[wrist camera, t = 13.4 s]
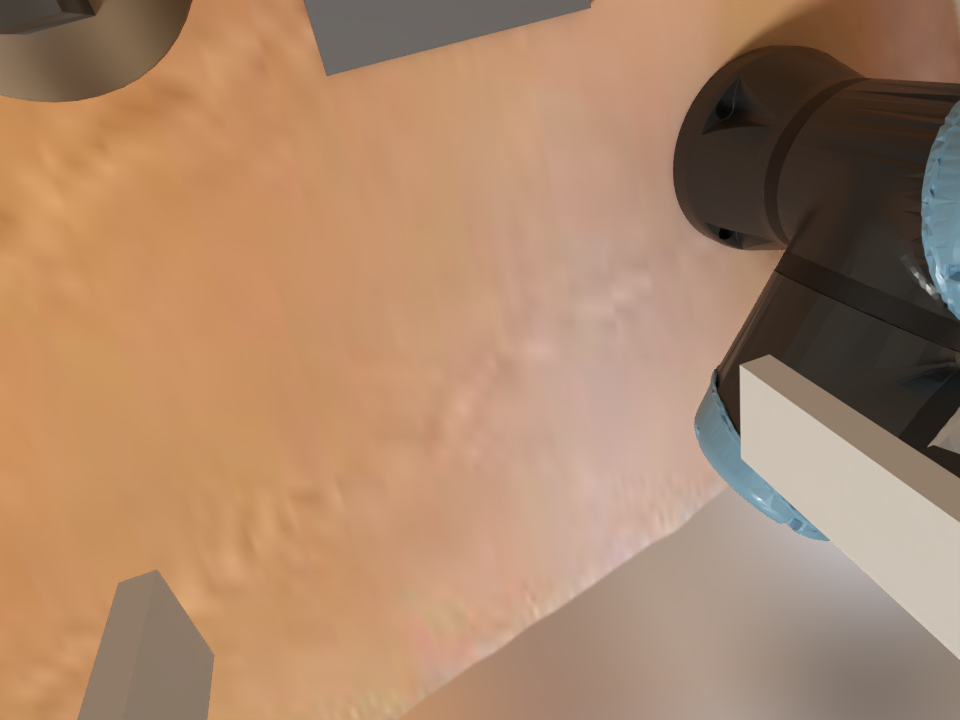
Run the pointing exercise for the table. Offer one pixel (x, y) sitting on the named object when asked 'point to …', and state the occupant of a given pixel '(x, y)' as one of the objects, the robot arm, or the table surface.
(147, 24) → the lid
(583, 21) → the table surface
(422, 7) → the mat
